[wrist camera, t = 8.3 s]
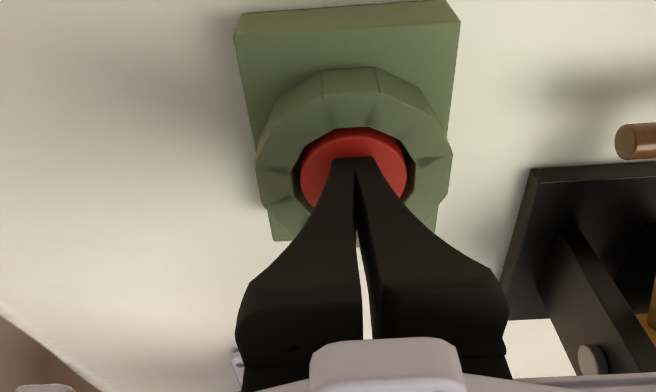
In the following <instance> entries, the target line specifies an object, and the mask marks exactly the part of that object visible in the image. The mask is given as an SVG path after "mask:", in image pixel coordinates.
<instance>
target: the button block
mask: <svg viewBox="0 0 656 392" xmlns="http://www.w3.org/2000/svg"><path fill="white" fill-rule="evenodd" d="M460 24H461V22H460V20H459V18H458V17H457V16H456V14H455V13H454V11H453V10H452V8H451V7H450V6H449V4H448V3H447V1H446V0H432V1H417V2H403V3H389V4H374V5H360V6H346V7H332V8H317V9H303V10H289V11H274V12H260V13H246V14H242V16H241V19H240V21H239V24H238V26H237V29H236V31H235V34H234V37H233V40H234V45H235V50H236V55H237V60H238V65H239V70H240V75H241V80H242V85H243V90H244V95H245V100H246V105H247V110H248V115H249V121H250V126H251V131H252V136H253V141H254V146H255V151H256V158H255V163H254V165H255V166H254V168H255V172H256V177H257V182H258V187H259V192H260V197H261V202H262V204H263V206H264V207H265V208H266V209H267V211H268V217H269V222H270V227H271V232H272V237H273V240H274V241H292V240H294V238H295V237H296V236H297V234H298V233H299V232H300V230H301V229H302V227H303V226H304V224H305V223H306V221H307V220H308V218H309V216H310V215H311V213H312V211H313V209H314V207H313V206H312V205H310V203H309V202H308V201H307V199H306V198H305V196H304V194H303V192H302V189H301V184H300V173H301V153H302V150H303V149H304V147H305V146H306V145H307V144H309V143H311V142H313V141H314V140H316V139H318V138H320V137H321V136H323V135H325V134H326V133H328V132H330V131H332V130H333V129H337V128H353V127H371V128H373V129H376V130H378V131H380V132H383V133H385V134H387V135H389V136H392V137H394V138H396V139H399V142H400V146H401V149H402V153H403V157H404V161H405V165H406V170H407V181H406V185H405V189H404V191H403V193H402V195H401V196H400V199H401V200H402V202H403V203H404V204H405V205H406V206H407V207H408V209H409V210H410V211H411V212H412V213H413V214H414V215H415V216H416V217H417V218H418V219H419V220H420V221H421V222H422V223H423V224H424V225H425V226H426V227H427V228H428V229H430V230H431V231H432V232H433V233H434V232H435V227H436V219H437V211H438V205H439V204H440V202H441V201H442V200H443V199H444V198H445V196H446V195H447V193H448V186H449V179H450V172H451V164H452V157H453V154H452V150H451V147H450V145H449V143H448V140H447V130H448V122H449V114H450V105H451V97H452V89H453V81H454V73H455V65H456V57H457V49H458V40H459V32H460ZM356 247H360V245H359V240H358V234H357V231H356Z"/></svg>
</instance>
